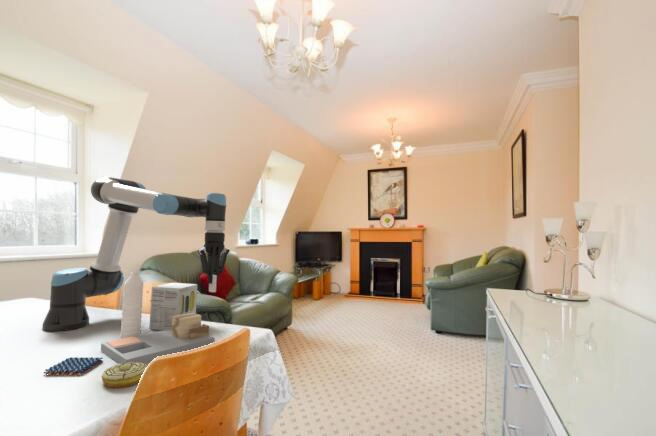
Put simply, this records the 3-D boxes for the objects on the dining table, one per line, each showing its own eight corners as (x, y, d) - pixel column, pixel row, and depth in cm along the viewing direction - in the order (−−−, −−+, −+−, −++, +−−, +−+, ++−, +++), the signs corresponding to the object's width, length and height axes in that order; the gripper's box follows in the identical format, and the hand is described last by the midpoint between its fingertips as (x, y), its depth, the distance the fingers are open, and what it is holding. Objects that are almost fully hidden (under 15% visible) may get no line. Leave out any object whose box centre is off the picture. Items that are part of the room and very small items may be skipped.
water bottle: (119, 341, 119) (123, 272, 121) (121, 335, 125) (125, 270, 126) (146, 338, 123) (150, 271, 125) (147, 333, 129) (150, 269, 130)
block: (171, 335, 119) (172, 316, 120) (192, 331, 125) (193, 312, 126) (179, 339, 116) (180, 319, 116) (200, 334, 122) (201, 315, 122)
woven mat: (67, 363, 100) (68, 356, 100) (104, 363, 101) (104, 356, 101) (40, 377, 89) (41, 370, 89) (81, 377, 90) (81, 370, 90)
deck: (100, 350, 109) (101, 342, 109) (184, 332, 132) (184, 325, 132) (125, 368, 96) (126, 359, 96) (214, 344, 118) (214, 337, 119)
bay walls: (174, 332, 123) (174, 323, 123) (191, 328, 129) (192, 319, 129) (190, 339, 116) (191, 329, 116) (208, 335, 121) (209, 325, 121)
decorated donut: (127, 370, 95) (128, 357, 95) (156, 376, 92) (157, 362, 92) (91, 385, 85) (92, 370, 86) (122, 392, 82) (123, 377, 82)
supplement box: (176, 332, 132) (179, 288, 133) (148, 329, 135) (151, 286, 136) (196, 323, 145) (198, 283, 146) (170, 321, 148) (172, 282, 149)
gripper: (205, 231, 123) (202, 295, 121) (234, 232, 133) (232, 291, 132) (194, 231, 127) (191, 292, 126) (223, 232, 138) (221, 288, 136)
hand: (212, 291), depth 129 cm, fingers closed
